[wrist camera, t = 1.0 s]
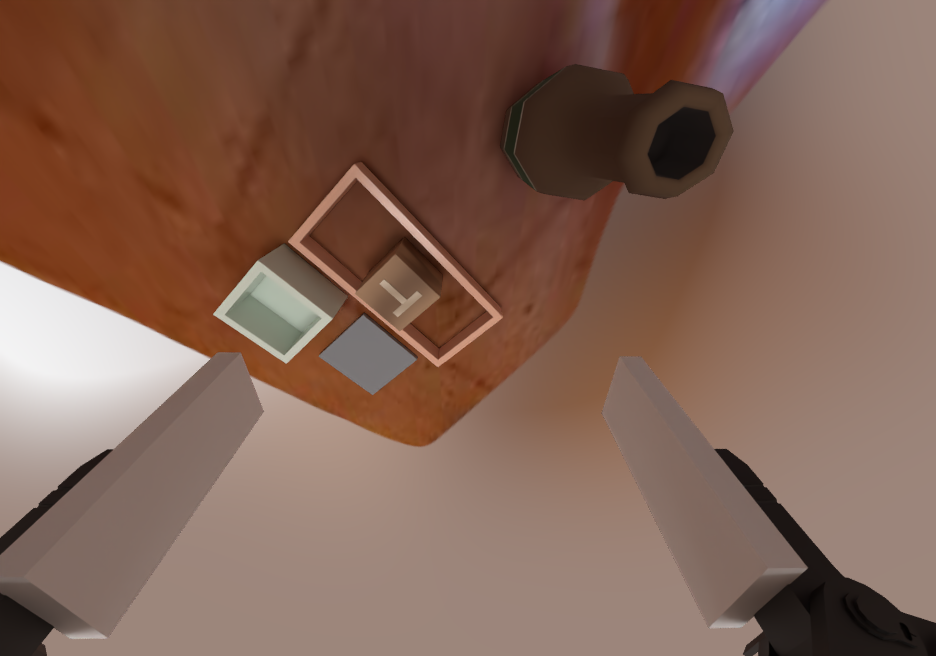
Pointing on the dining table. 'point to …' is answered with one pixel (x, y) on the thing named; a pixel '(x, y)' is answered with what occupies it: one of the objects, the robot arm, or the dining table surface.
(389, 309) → the letter cube
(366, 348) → the slate coaster
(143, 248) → the dining table surface
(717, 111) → the beer bottle
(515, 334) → the dining table surface
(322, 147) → the dining table surface
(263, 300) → the mint green open box
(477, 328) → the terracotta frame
